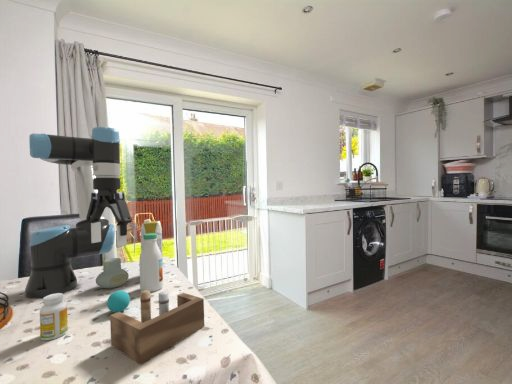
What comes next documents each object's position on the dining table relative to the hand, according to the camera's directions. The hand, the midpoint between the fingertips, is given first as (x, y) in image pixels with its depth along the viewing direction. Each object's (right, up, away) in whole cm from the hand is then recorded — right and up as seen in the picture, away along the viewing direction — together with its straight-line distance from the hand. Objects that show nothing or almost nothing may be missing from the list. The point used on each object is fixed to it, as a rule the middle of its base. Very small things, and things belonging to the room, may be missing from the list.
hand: (108, 244), depth 82 cm
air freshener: (-8, -19, +16) cm, 27 cm away
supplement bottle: (-3, -19, -17) cm, 26 cm away
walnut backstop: (+24, -18, -19) cm, 35 cm away
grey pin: (+23, -18, -15) cm, 33 cm away
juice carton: (+3, -19, +27) cm, 33 cm away
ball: (+6, -16, -6) cm, 18 cm away
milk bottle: (+9, -19, +12) cm, 24 cm away
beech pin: (+18, -18, -14) cm, 29 cm away
